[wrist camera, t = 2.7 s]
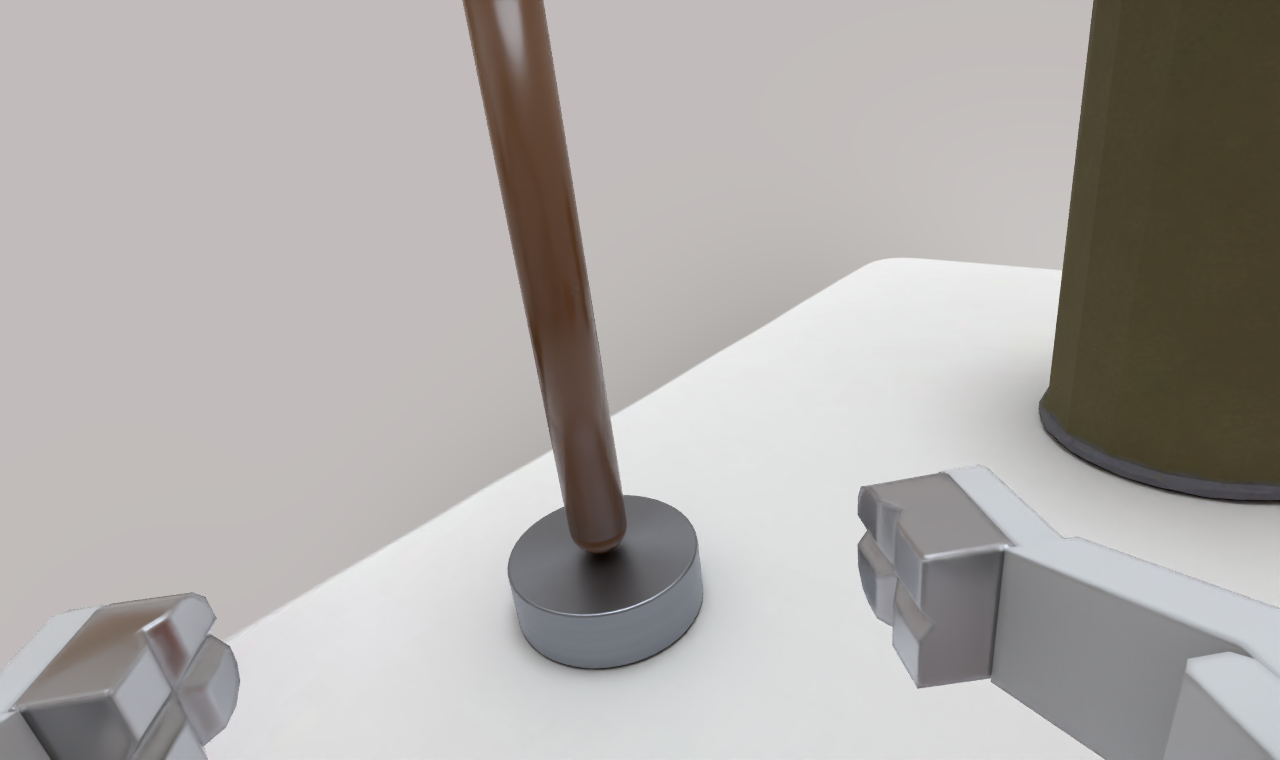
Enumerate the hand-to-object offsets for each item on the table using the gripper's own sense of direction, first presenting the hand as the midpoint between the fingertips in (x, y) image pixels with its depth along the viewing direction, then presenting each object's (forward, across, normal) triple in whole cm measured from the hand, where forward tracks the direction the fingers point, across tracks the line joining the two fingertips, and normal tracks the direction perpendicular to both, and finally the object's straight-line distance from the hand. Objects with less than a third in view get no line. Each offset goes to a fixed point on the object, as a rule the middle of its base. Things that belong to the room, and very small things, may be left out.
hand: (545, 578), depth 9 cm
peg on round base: (+11, 0, +10) cm, 15 cm away
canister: (+15, -24, +10) cm, 30 cm away
